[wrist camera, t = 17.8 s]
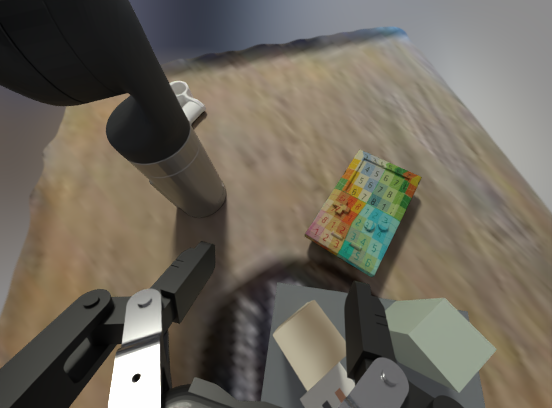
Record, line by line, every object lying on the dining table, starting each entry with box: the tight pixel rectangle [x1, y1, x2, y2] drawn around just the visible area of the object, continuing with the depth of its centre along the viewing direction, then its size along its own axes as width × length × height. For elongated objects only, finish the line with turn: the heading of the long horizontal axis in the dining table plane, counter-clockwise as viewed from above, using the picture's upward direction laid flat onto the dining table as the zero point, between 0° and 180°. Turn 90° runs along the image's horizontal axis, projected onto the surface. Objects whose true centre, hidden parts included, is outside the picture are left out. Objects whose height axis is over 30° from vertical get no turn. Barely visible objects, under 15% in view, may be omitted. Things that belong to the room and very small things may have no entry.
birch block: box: [273, 300, 346, 392], centre depth 27 cm, size 6×6×12 cm
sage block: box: [385, 298, 497, 393], centre depth 27 cm, size 6×6×12 cm
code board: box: [261, 283, 485, 408], centre depth 30 cm, size 28×22×1 cm
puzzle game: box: [305, 150, 422, 277], centre depth 39 cm, size 12×5×20 cm
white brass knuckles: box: [170, 81, 206, 125], centre depth 53 cm, size 3×18×15 cm
